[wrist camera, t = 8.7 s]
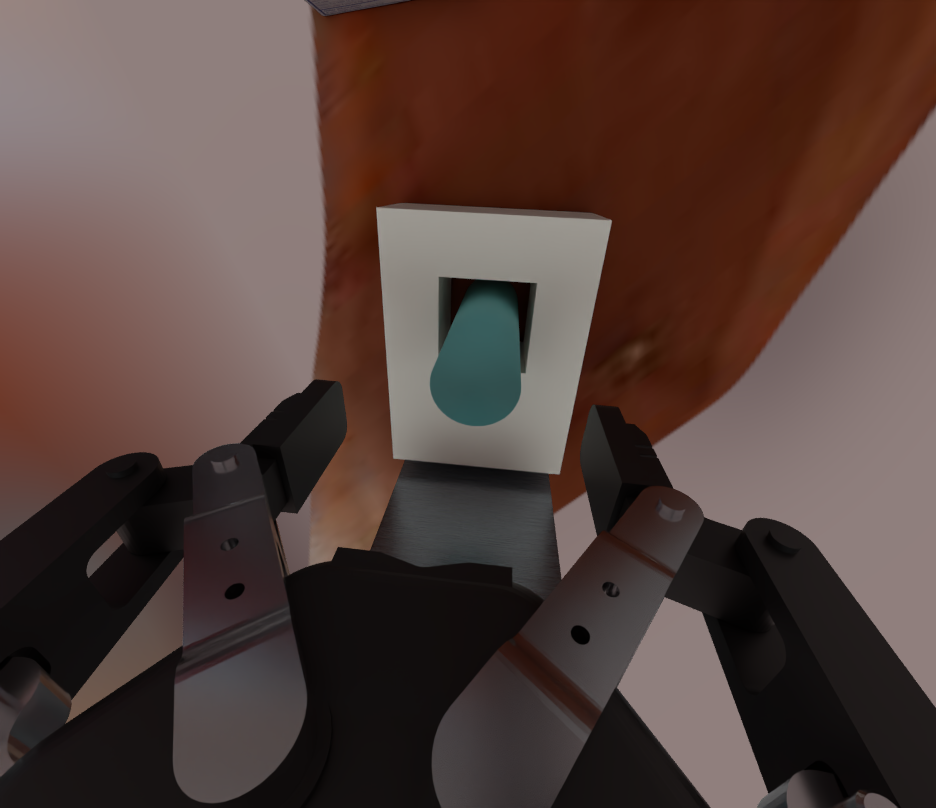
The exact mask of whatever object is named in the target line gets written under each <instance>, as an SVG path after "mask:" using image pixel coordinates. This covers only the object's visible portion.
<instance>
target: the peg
mask: <svg viewBox="0 0 936 808" xmlns="http://www.w3.org/2000/svg"><path fill="white" fill-rule="evenodd" d="M430 391H431V395H432V398H433V400H434V402H435V404H436V405H437V407H438V408H439V409H440V410H441V411H442V412H443V413H444V414H445V415H446V416H447V417H449V418H450V419H452V420H454V421H456V422H458V423H461V424H464V425H469V426H486V425H490V424H494V423H496V422H498V421H500V420H502V419H504V418H505V417H506V416H508V415H509V414H510V413H511V412H512V411H513V409H514V408H515V407H516V405H517V403H518V401H519V398H520V394H521V366H520V341H519V315H518V297H517V294H516V291H515V289H514V287H513V286H512V285H511V284H510V283H509V282H508V281H497V280H482V279H477V280H475V281H474V282H473V283H472V284H471V285H470V286H469V287H468V289H467V291H466V293H465V296H464V298H463V300H462V303H461V305H460V307H459V309H458V312H457V314H456V316H455V319H454V321H453V323H452V326H451V328H450V330H449V333H448V335H447V337H446V339H445V342H444V344H443V346H442V349H441V351H440V353H439V356H438V358H437V360H436V363H435V365H434V367H433V370H432V372H431V376H430Z"/></svg>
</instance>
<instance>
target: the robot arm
mask: <svg viewBox="0 0 936 808" xmlns="http://www.w3.org/2000/svg"><path fill="white" fill-rule="evenodd" d="M346 431H347V419H346V412H345V405H344V398H343V391H342V386H341V384H340V382H338V381H327V380H313V381H312V382H311V383H310V384H309V386H308V387H307V388H306V389H305V390H304V391H303V392H302V393H296V394H294V395H292V396H291V397H289V398H287V399H285V400H283V401H282V402H281V403H280V404H279V405H278V406H277V407H276V408H275V409H274V412H271V413H270V414H269V415H268V416H267V417H266V420H265V419H264V420H263V421H262V422H261V423H260V424H259V425H258V426H257V427H256V428H255V429H254V430H253V431H252V432H251V433H250V434H249V435H248V436H247V437H246V438H245V439H244V440H243V441H242V442H241V443H240V444H239V443H238V444H227V445H222V446H219V447H216V448H213V449H211V450H209V451H207V452H206V453H204V454H203V455H201V456H200V457H199V458H198V459H197V460H196V461H195V462H194V464H193V465H190V466H182V467H172V468H162V465H161V463H160V461H159V459H158V457H157V456H156V455H154V454H151V453H146V452H139V453H131V454H126V455H123V456H119V457H116V458H114V459H111V460H109V461H107V462H105V463H103V464H101V465H99V466H98V467H96V468H95V469H94V470H92V471H91V472H90V473H88V474H87V475H86V476H84V477H83V478H82V479H81V480H79V481H78V482H77V483H75V484H74V485H73V486H71V487H70V488H69V489H67V490H66V491H65V492H63V493H62V494H61V495H60V496H58V497H57V498H56V499H54V500H53V501H52V502H50V503H49V504H48V505H46V506H45V507H44V508H43V509H41V510H40V511H39V512H37V513H36V514H35V515H33V516H32V517H31V518H29V519H28V520H27V521H25V522H24V523H23V524H21V525H20V526H19V527H18V528H16V529H15V530H14V531H12V532H11V533H10V534H8V535H7V536H6V537H4V538H3V539H2V540H0V808H710V807H709V805H708V804H707V802H706V801H705V800H704V799H703V797H702V796H701V795H700V794H699V792H698V791H697V790H696V788H695V787H694V786H693V785H692V783H691V782H690V781H689V779H688V778H687V777H686V776H685V774H684V773H683V772H682V770H681V769H680V768H679V767H678V765H677V764H676V763H675V761H674V760H673V759H672V758H671V756H670V755H669V754H668V753H667V751H666V750H665V749H664V747H663V746H662V745H661V744H660V742H659V741H658V740H657V738H655V736H654V735H653V733H652V732H651V731H650V730H649V728H648V727H647V726H646V724H645V723H644V722H643V721H642V719H641V718H640V717H639V716H638V714H637V713H636V712H635V710H634V709H633V708H632V707H631V705H630V704H629V703H628V701H627V700H626V699H625V698H624V696H623V695H622V694H621V692H620V691H619V690H618V689H617V686H618V685H619V683H620V681H621V679H622V677H623V675H624V673H625V671H626V669H627V667H628V665H629V663H630V662H631V660H632V657H633V656H634V654H635V652H636V650H637V648H638V646H639V644H640V643H641V641H642V639H643V637H644V635H645V633H646V631H647V629H648V627H649V625H650V624H651V622H652V620H653V618H654V616H655V614H656V612H657V610H658V609H659V607H660V605H661V603H662V601H663V599H664V597H666V598H668V599H671V600H674V601H676V602H679V603H681V604H683V605H686V606H688V607H691V608H693V609H696V610H698V611H701V612H702V613H703V616H704V619H705V622H706V624H707V626H708V629H709V633H710V635H711V638H712V641H713V643H714V646H715V648H716V652H717V654H718V657H719V660H720V662H721V665H722V668H723V670H724V673H725V676H726V679H727V681H728V684H729V687H730V690H731V692H732V695H733V698H734V700H735V703H736V706H737V709H738V712H739V714H740V717H741V720H742V723H743V725H744V728H745V730H746V733H747V736H748V739H749V742H750V744H751V747H752V750H753V753H754V755H755V758H756V761H757V763H758V766H759V769H760V772H761V774H762V777H763V780H764V782H765V785H766V788H767V791H768V793H769V794H768V795H767V796H765V797H764V798H763V799H762V800H761V801H760V803H759V804H758V806H757V808H936V708H935V706H934V705H933V704H932V703H931V701H930V700H929V698H928V697H927V695H926V694H925V693H924V691H923V690H922V689H921V687H920V686H919V685H918V683H917V682H916V681H915V679H914V678H913V676H912V675H911V674H910V672H909V671H908V670H907V668H906V667H905V666H904V664H903V663H902V662H901V660H900V659H899V658H898V656H897V655H896V653H895V652H894V651H893V649H892V648H891V647H890V645H889V644H888V643H887V641H886V640H885V639H884V637H883V636H882V635H881V633H880V632H879V630H878V629H877V628H876V626H875V625H874V624H873V622H872V621H871V620H870V618H869V617H868V616H867V614H866V613H865V611H864V610H863V609H862V607H861V606H860V605H859V603H858V602H857V601H856V599H855V598H854V597H853V595H852V594H851V592H850V591H849V590H848V589H847V587H846V586H845V584H844V583H843V582H842V580H841V579H840V578H839V577H838V575H837V574H836V572H835V571H834V569H833V568H832V567H831V565H830V564H829V563H828V561H827V560H826V559H825V557H824V556H823V555H822V553H821V552H820V551H819V549H818V548H817V547H816V545H815V544H814V543H813V542H812V541H811V540H810V539H809V538H807V537H806V536H805V535H803V534H802V533H801V532H799V531H798V530H796V529H794V528H792V527H790V526H788V525H786V524H784V523H781V522H779V521H776V520H772V519H767V518H755V519H751V520H750V521H748V522H747V524H746V525H745V527H744V528H743V530H739V529H737V528H734V527H730V526H727V525H724V524H721V523H718V522H715V521H712V520H710V519H707V518H705V517H704V515H703V512H702V510H701V508H700V507H699V505H698V504H697V503H696V502H695V501H694V500H692V499H691V498H690V497H689V496H687V495H685V494H684V493H682V492H680V491H678V490H675V489H673V487H672V485H671V483H670V481H669V479H668V477H667V475H666V473H665V471H664V469H663V467H662V465H661V463H660V461H659V459H658V458H657V455H656V453H655V451H654V449H652V445H651V443H650V441H649V439H648V437H647V435H646V434H645V433H644V432H643V431H641V430H640V429H639V428H638V427H637V426H636V425H635V424H626V423H625V420H624V418H623V416H622V414H621V411H620V409H619V408H618V407H612V406H601V405H592V407H591V409H590V412H589V416H588V420H587V424H586V428H585V432H584V436H583V440H582V445H581V451H580V463H581V468H582V472H583V477H584V481H585V485H586V490H587V494H588V498H589V502H590V507H591V511H592V516H593V520H594V524H595V529H596V533H597V537H596V538H595V540H594V541H593V542H592V543H591V544H590V546H589V547H588V548H587V549H586V551H585V552H584V553H583V554H582V556H581V557H580V558H579V559H578V560H577V562H576V563H575V564H574V565H573V567H572V568H571V569H570V570H569V572H568V573H567V574H566V575H565V576H564V578H563V579H562V580H561V581H560V582H559V584H558V585H557V586H556V587H555V589H554V590H553V591H552V592H551V593H550V595H549V596H548V597H547V598H546V600H544V599H543V598H541V597H540V596H539V595H537V594H536V593H534V592H533V591H531V590H530V589H528V588H526V587H524V586H522V585H520V584H517V583H514V582H512V569H513V567H505V566H496V565H488V564H479V563H471V562H467V563H458V564H449V565H440V566H431V567H419V566H416V565H413V564H411V563H408V562H405V561H403V560H400V559H397V558H395V557H392V556H389V555H387V554H384V553H382V552H376V551H368V550H359V549H351V548H342V547H338V548H337V550H336V553H335V555H334V557H333V559H332V561H328V562H323V563H319V564H315V565H312V566H308V567H305V568H303V569H301V570H298V571H296V572H294V573H292V574H290V573H289V569H288V565H287V561H286V558H285V553H284V549H283V545H282V541H281V537H280V532H279V528H278V525H277V521H276V518H277V517H278V515H279V514H280V512H288V513H298V511H299V510H300V508H301V507H302V505H303V504H304V502H305V500H306V499H307V497H308V496H309V494H310V493H311V491H312V489H313V488H314V486H315V485H316V483H317V482H318V480H319V478H320V477H321V475H322V474H323V472H324V470H325V469H326V467H327V466H328V464H329V463H330V461H331V459H332V458H333V456H334V455H335V453H336V452H337V450H338V448H339V447H340V445H341V444H342V442H343V440H344V438H345V435H346ZM115 531H117V533H118V534H119V536H120V537H121V539H122V541H123V544H122V545H121V546H120V547H118V549H117V550H116V551H115V552H114V553H113V554H112V555H111V556H110V557H109V558H108V559H107V560H106V561H105V562H104V563H103V564H102V565H101V566H100V567H99V568H98V569H97V570H96V571H95V572H94V573H93V574H92V575H91V576H90V577H89V578H88V576H87V573H86V569H87V564H88V562H89V559H90V558H91V556H92V555H93V553H94V552H95V551H96V550H97V549H98V548H99V547H100V546H101V545H102V544H103V543H104V542H105V541H106V540H107V539H109V538H110V536H112V535H113V534H114V533H115ZM182 558H184V559H183V568H184V569H183V645H182V646H181V647H180V648H178V649H176V650H175V651H173V652H172V653H171V654H169V655H167V656H166V657H165V658H163V659H162V660H160V661H159V662H157V663H156V664H154V665H153V666H151V667H150V668H148V669H147V670H145V671H144V672H142V673H141V674H139V675H138V676H136V677H135V678H133V679H132V680H130V681H129V682H127V683H126V684H124V685H123V686H121V687H120V688H118V689H117V690H115V691H114V692H112V693H111V694H109V695H108V696H106V697H105V698H104V699H102V700H100V701H99V702H97V703H96V704H94V705H93V706H91V707H90V708H88V709H87V710H86V711H84V712H82V713H81V714H79V715H78V716H77V717H75V718H73V719H72V720H70V721H69V722H68V723H66V721H67V719H68V717H69V714H70V710H71V704H72V703H71V700H72V699H73V698H74V696H75V695H76V694H77V693H78V691H79V690H80V688H81V687H82V686H83V685H84V684H85V682H86V681H87V680H88V678H89V677H90V676H91V675H92V673H93V672H94V671H95V670H96V668H97V667H98V666H99V664H100V663H101V662H102V661H103V659H104V658H105V657H106V655H107V654H108V653H109V652H110V650H111V649H112V648H113V647H114V645H115V644H116V643H117V641H118V640H119V639H120V638H121V636H122V635H123V634H124V632H125V631H126V630H127V629H128V627H129V626H130V625H131V624H132V622H133V621H134V620H135V618H136V617H137V616H138V615H139V613H140V612H141V611H142V610H143V608H144V607H145V606H146V604H147V603H148V602H149V601H150V599H151V598H152V597H153V595H154V594H155V593H156V592H157V590H158V589H159V588H160V587H161V585H162V584H163V583H164V581H165V580H166V579H167V578H168V576H169V575H170V574H171V572H172V571H173V570H174V569H175V567H176V566H177V565H178V564H179V562H180V561H181V560H182ZM65 723H66V724H65Z"/></svg>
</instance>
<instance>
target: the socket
mask: <svg viewBox="0 0 936 808" xmlns="http://www.w3.org/2000/svg"><path fill="white" fill-rule="evenodd" d="M376 210H377V225H378V239H379V254H380V269H381V283H382V298H383V312H384V327H385V342H386V356H387V371H388V385H389V400H390V415H391V429H392V444H393V458H395V459H405V460H415V461H426V462H436V463H446V464H457V465H467V466H477V467H488V468H498V469H508V470H519V471H529V472H539V473H550V474H560V469H561V464H562V459H563V455H564V450H565V445H566V440H567V435H568V431H569V426H570V421H571V416H572V411H573V406H574V402H575V397H576V392H577V387H578V382H579V377H580V373H581V368H582V363H583V358H584V353H585V348H586V344H587V339H588V334H589V329H590V324H591V319H592V315H593V310H594V305H595V300H596V295H597V290H598V286H599V281H600V276H601V271H602V266H603V262H604V257H605V252H606V247H607V242H608V237H609V233H610V228H611V223H612V220H610V219H607V218H604V217H602V216H599V215H597V214H594V213H584V212H565V211H546V210H528V209H509V208H490V207H471V206H452V205H433V204H414V203H399V204H393V205H388V206H383V207H377V208H376ZM451 278H466V279H482V280H497V281H512V282H528V283H531V284H530V292H529V300H528V309H527V317H526V325H525V333H524V342H520V366H521V394H520V398H519V401H518V403H517V405H516V407H515V408H514V409H513V411H512V412H511V413H510V414H509V415H508V416H506V417H505V418H504V419H502V420H500V421H498V422H496V423H494V424H490V425H486V426H469V425H464V424H461V423H458V422H456V421H454V420H452V419H450V418H449V417H447V416H446V415H445V414H444V413H443V412H442V411H441V410H440V409H439V408H438V407H437V405H436V404H435V402H434V400H433V398H432V395H431V391H430V376H431V372H432V370H433V367H434V365H435V363H436V360H437V358H438V356H439V353H440V351H441V349H442V346H443V344H444V342H445V339H446V337H447V335H448V333H449V330H450V325H451Z"/></svg>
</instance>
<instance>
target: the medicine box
mask: <svg viewBox="0 0 936 808" xmlns="http://www.w3.org/2000/svg"><path fill="white" fill-rule="evenodd" d="M305 1H306V2H307V3H308V4H309V5H311V6H312V7H313V8H314V9H316V10H317V11H318V12H319V13H320V14H321V15H323V16H328V15H333V14H338V13H343V12H349V11H354V10H360V9H366V8H371V7H377V6H382V5H388V4H393V3H398V2H403V1H409V0H305Z"/></svg>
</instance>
